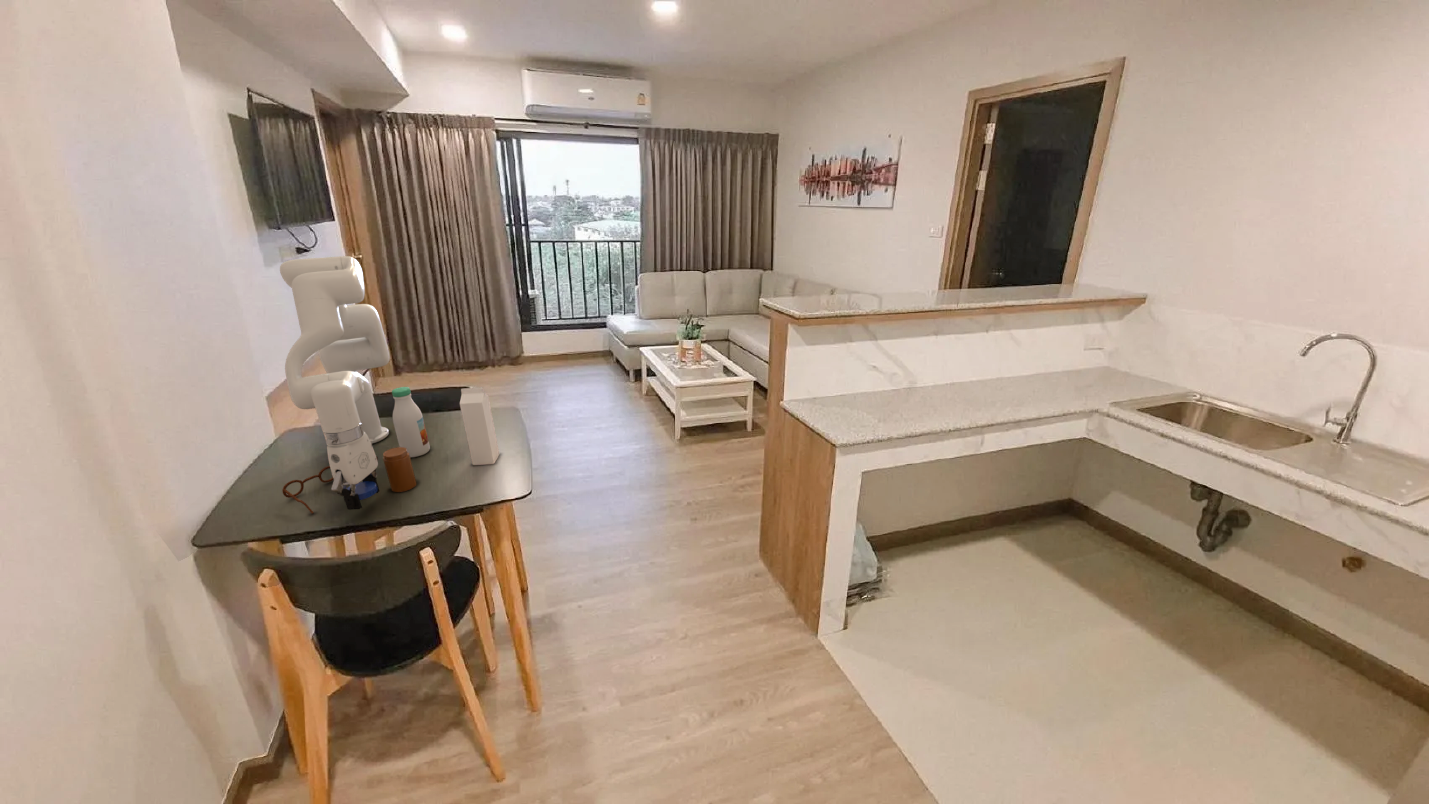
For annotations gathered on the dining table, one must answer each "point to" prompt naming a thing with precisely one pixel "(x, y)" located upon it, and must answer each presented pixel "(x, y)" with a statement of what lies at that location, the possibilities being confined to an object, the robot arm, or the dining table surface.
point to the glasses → (303, 487)
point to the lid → (365, 489)
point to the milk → (479, 426)
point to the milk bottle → (409, 423)
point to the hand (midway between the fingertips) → (364, 499)
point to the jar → (399, 469)
